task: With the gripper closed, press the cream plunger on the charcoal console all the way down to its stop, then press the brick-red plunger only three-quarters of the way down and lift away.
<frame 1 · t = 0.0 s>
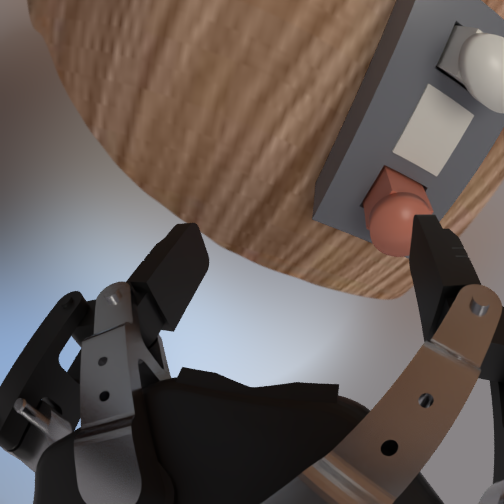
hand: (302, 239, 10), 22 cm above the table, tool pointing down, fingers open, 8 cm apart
white plunger: (477, 64, 13), point 8 cm above the table, slide at 0.0 cm
console: (413, 108, 24), on the table
red plunger: (396, 204, 24), point 8 cm above the table, slide at 0.0 cm
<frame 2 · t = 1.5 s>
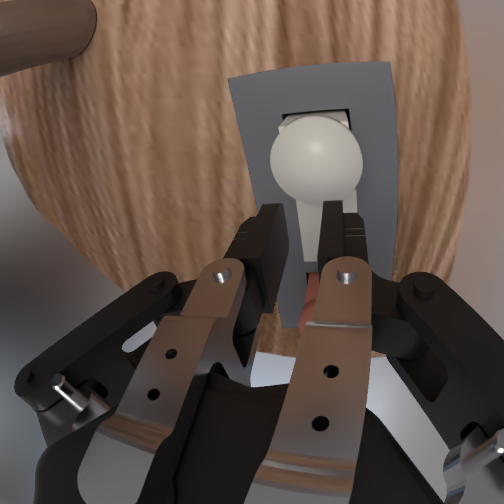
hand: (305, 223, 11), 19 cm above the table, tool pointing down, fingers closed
white plunger: (319, 146, 19), point 8 cm above the table, slide at 0.0 cm
console: (330, 193, 30), on the table
red plunger: (331, 300, 28), point 8 cm above the table, slide at 0.0 cm
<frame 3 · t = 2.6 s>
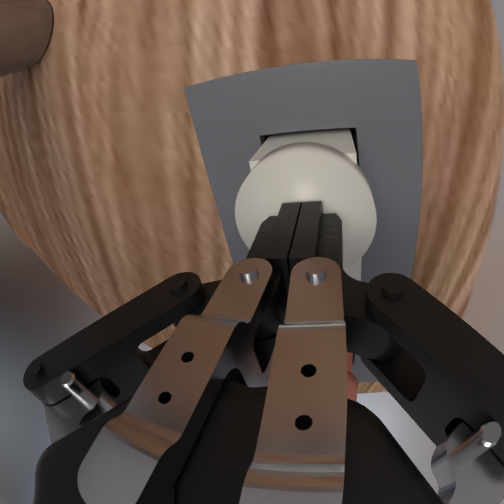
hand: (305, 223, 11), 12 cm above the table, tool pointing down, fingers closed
white plunger: (311, 184, 14), point 8 cm above the table, slide at 0.1 cm, touching gripper
console: (328, 227, 24), on the table
red plunger: (325, 359, 22), point 8 cm above the table, slide at 0.0 cm
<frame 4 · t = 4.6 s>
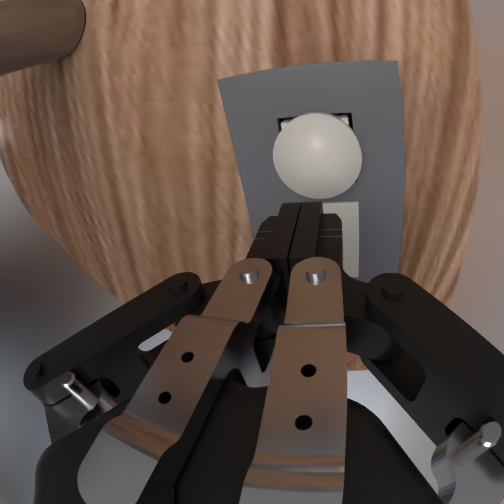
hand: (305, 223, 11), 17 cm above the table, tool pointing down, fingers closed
white plunger: (320, 143, 20), point 5 cm above the table, slide at 3.1 cm
console: (330, 202, 28), on the table
red plunger: (330, 317, 26), point 8 cm above the table, slide at 0.0 cm
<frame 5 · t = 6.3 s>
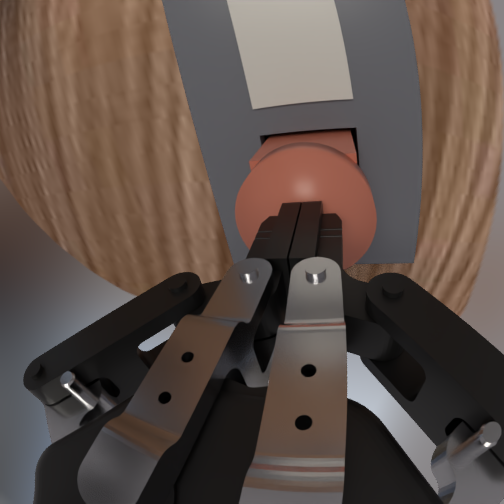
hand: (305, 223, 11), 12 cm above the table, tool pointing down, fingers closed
console: (302, 46, 16), on the table
red plunger: (311, 184, 14), point 8 cm above the table, slide at 0.0 cm, touching gripper
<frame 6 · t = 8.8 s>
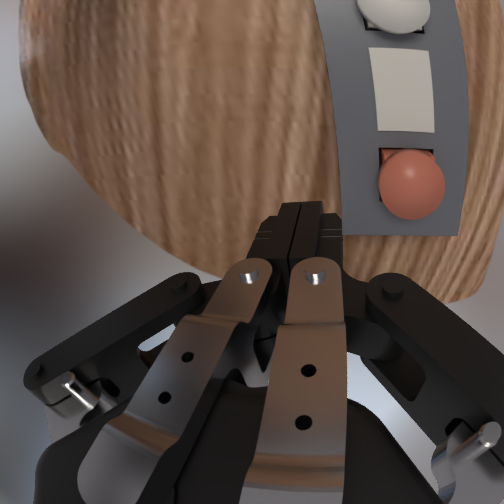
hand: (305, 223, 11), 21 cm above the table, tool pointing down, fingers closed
white plunger: (386, 8, 15), point 5 cm above the table, slide at 3.1 cm
console: (389, 85, 23), on the table
red plunger: (404, 172, 23), point 6 cm above the table, slide at 2.2 cm
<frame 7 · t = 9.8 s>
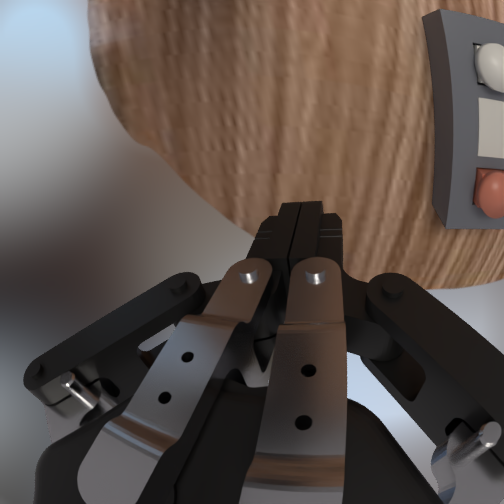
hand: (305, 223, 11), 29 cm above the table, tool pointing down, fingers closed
white plunger: (485, 65, 19), point 5 cm above the table, slide at 3.1 cm
console: (471, 116, 27), on the table
red plunger: (486, 184, 26), point 6 cm above the table, slide at 2.2 cm
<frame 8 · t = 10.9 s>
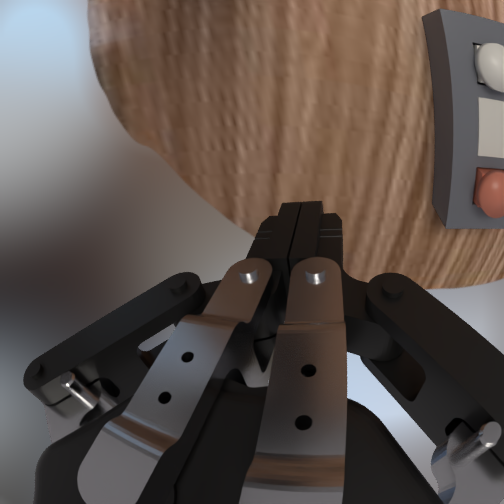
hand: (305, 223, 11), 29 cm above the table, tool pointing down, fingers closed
white plunger: (485, 65, 19), point 5 cm above the table, slide at 3.1 cm
console: (471, 116, 27), on the table
red plunger: (486, 183, 26), point 6 cm above the table, slide at 2.2 cm
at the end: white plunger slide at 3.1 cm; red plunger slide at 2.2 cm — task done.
